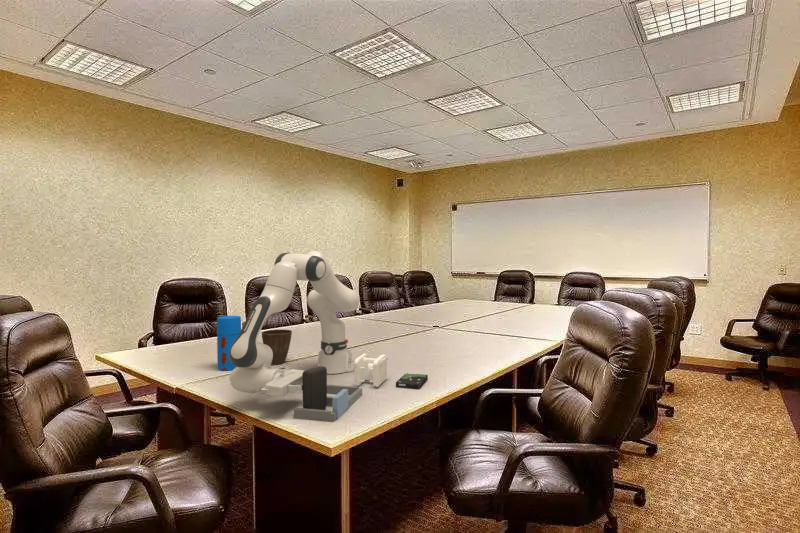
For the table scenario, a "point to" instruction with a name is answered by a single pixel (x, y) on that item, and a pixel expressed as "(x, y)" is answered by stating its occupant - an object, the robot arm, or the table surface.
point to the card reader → (315, 388)
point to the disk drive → (412, 381)
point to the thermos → (226, 340)
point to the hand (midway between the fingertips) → (308, 384)
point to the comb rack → (332, 404)
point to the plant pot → (278, 344)
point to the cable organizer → (370, 369)
